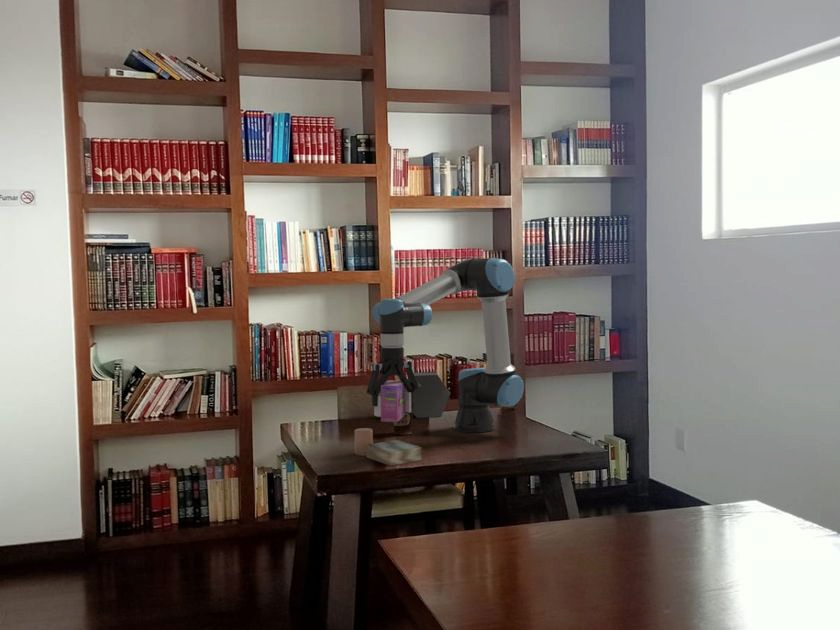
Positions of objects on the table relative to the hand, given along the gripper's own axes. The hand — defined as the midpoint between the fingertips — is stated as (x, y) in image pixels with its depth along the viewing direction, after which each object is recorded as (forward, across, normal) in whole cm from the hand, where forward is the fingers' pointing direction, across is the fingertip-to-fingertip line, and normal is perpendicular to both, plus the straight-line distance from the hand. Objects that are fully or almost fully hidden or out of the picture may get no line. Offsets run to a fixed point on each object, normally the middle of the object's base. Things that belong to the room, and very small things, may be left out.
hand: (393, 413), depth 267 cm
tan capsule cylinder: (+15, +4, -12) cm, 19 cm away
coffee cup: (+15, -24, -30) cm, 41 cm away
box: (+2, 0, 0) cm, 2 cm away
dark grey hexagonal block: (+15, -51, -53) cm, 75 cm away
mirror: (+15, 0, 0) cm, 15 cm away
